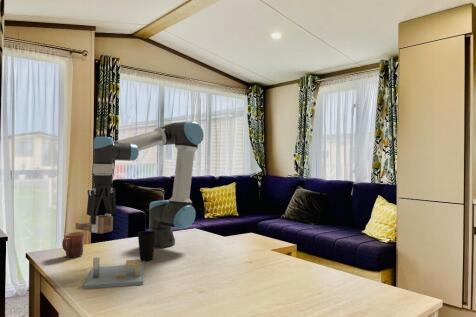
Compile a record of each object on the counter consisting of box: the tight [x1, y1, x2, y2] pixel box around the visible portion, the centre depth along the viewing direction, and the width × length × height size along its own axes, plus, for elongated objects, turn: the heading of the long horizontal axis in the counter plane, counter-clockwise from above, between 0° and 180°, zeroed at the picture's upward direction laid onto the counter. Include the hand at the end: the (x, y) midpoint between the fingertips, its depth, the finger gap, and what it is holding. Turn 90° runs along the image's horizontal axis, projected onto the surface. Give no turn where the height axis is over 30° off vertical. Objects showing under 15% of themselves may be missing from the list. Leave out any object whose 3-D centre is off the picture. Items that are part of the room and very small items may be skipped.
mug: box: [61, 231, 86, 259], centre depth 163 cm, size 12×9×10 cm
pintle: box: [92, 257, 101, 278], centre depth 133 cm, size 2×2×7 cm
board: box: [83, 263, 145, 290], centre depth 137 cm, size 20×21×1 cm
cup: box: [137, 230, 155, 262], centre depth 160 cm, size 8×8×12 cm
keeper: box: [117, 258, 142, 279], centre depth 136 cm, size 8×8×4 cm
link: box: [75, 214, 114, 235], centre depth 148 cm, size 15×6×6 cm, turn 68°
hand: (101, 230), depth 146 cm, fingers closed on link, 6 cm apart
